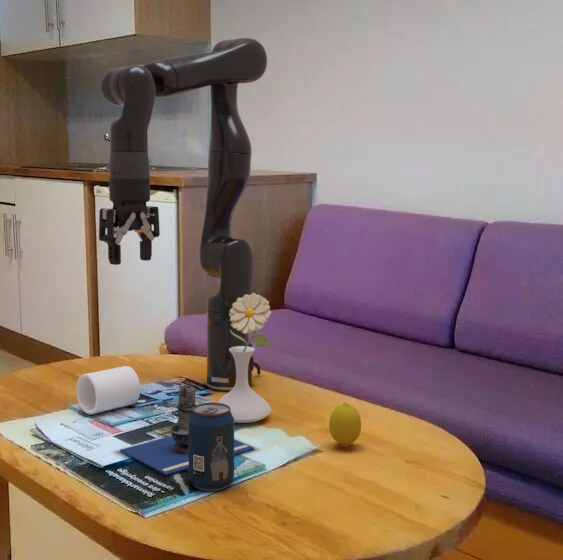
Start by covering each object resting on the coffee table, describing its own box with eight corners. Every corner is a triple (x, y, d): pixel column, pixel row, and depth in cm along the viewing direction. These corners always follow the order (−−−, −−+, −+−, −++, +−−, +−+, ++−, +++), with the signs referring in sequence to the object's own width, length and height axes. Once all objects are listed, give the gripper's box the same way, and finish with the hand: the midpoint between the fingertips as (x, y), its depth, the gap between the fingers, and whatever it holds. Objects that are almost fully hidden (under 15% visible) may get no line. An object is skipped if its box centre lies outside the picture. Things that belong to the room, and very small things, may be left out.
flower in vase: (200, 418, 149) (199, 291, 146) (242, 405, 158) (242, 284, 154) (247, 434, 140) (248, 299, 137) (289, 420, 149) (291, 292, 145)
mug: (141, 408, 155) (140, 369, 154) (98, 419, 148) (97, 378, 147) (108, 395, 164) (107, 358, 162) (65, 405, 156) (64, 367, 155)
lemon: (363, 443, 137) (364, 400, 136) (356, 454, 131) (357, 409, 130) (333, 439, 138) (334, 396, 137) (325, 450, 133) (326, 405, 132)
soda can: (206, 471, 123) (206, 398, 122) (242, 480, 120) (243, 405, 118) (179, 486, 117) (179, 410, 116) (216, 496, 114) (216, 418, 112)
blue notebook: (205, 429, 143) (205, 426, 143) (254, 449, 133) (254, 447, 133) (120, 451, 131) (120, 449, 131) (166, 476, 121) (166, 473, 121)
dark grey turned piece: (210, 445, 134) (210, 378, 132) (192, 456, 128) (192, 387, 127) (181, 440, 136) (181, 374, 134) (163, 451, 131) (162, 382, 129)
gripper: (118, 176, 136) (119, 267, 139) (169, 176, 149) (170, 260, 151) (87, 176, 140) (89, 264, 143) (139, 175, 152) (140, 257, 155)
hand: (130, 262), depth 147 cm, fingers open, 8 cm apart
